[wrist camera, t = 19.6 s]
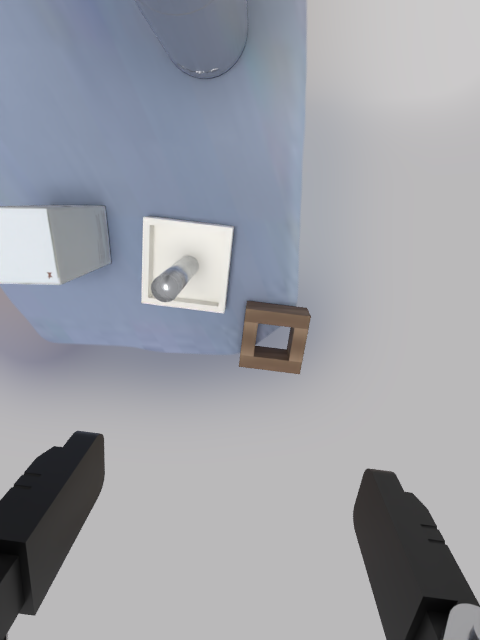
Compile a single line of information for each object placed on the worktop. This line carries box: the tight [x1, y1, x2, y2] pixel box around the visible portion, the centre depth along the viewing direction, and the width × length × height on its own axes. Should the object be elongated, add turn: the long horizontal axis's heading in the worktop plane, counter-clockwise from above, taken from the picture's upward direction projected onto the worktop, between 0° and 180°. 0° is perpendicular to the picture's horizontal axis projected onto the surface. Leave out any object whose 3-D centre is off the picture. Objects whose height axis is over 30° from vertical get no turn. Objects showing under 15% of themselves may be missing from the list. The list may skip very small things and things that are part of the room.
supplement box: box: [0, 205, 111, 285], centre depth 39 cm, size 7×7×13 cm
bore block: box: [239, 301, 311, 374], centre depth 46 cm, size 8×8×4 cm
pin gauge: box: [151, 255, 199, 302], centre depth 39 cm, size 3×3×12 cm
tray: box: [141, 216, 234, 313], centre depth 44 cm, size 11×11×2 cm
